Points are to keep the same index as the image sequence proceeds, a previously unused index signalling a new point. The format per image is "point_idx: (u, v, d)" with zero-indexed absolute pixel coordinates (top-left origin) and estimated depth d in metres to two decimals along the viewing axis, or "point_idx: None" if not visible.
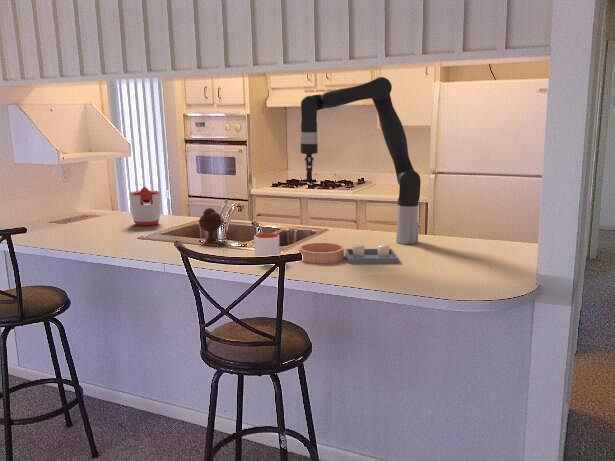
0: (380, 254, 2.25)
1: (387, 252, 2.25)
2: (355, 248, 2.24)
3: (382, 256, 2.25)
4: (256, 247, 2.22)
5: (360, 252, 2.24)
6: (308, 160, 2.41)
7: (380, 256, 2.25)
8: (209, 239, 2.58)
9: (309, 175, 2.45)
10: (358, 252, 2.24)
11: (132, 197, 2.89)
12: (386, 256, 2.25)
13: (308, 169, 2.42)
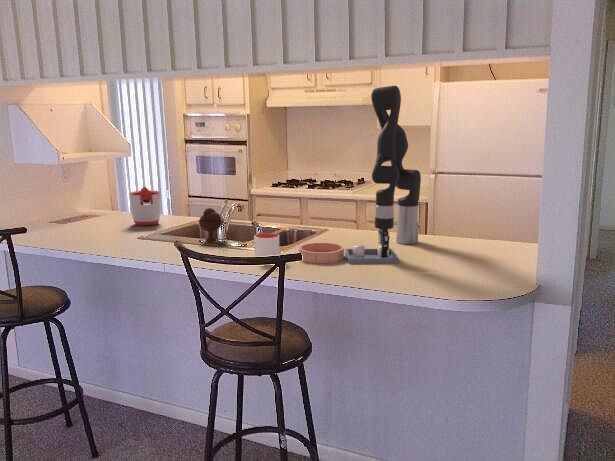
0: (380, 254, 2.25)
1: (387, 252, 2.25)
2: (355, 248, 2.24)
3: None
4: (256, 247, 2.22)
5: (360, 252, 2.24)
6: (384, 239, 2.19)
7: (380, 256, 2.25)
8: (209, 239, 2.58)
9: None
10: (358, 252, 2.24)
11: (132, 197, 2.89)
12: None
13: (384, 248, 2.21)
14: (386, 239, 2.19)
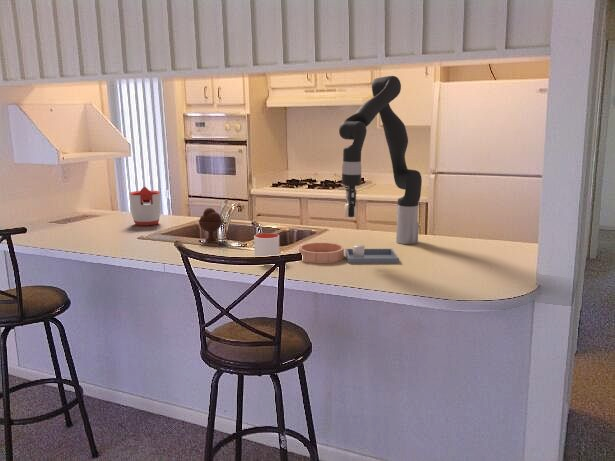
0: (347, 212, 2.22)
1: (354, 210, 2.22)
2: (355, 248, 2.24)
3: None
4: (256, 247, 2.22)
5: (360, 252, 2.24)
6: (351, 196, 2.16)
7: (347, 214, 2.22)
8: (209, 239, 2.58)
9: (351, 211, 2.21)
10: (358, 252, 2.24)
11: (132, 197, 2.89)
12: None
13: (351, 205, 2.18)
14: (353, 195, 2.16)
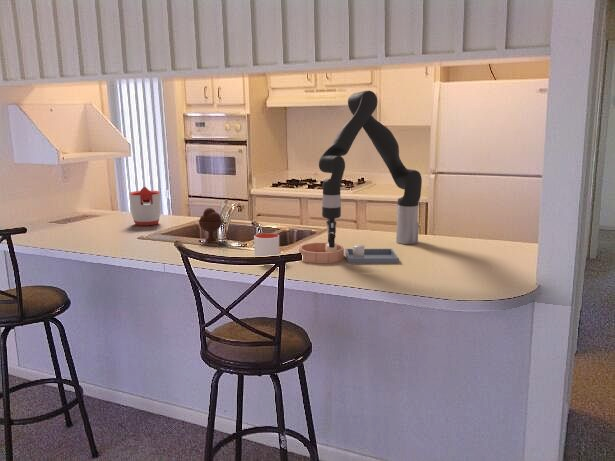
0: None
1: (334, 250, 2.26)
2: (355, 248, 2.24)
3: None
4: (256, 247, 2.22)
5: (360, 252, 2.24)
6: (331, 226, 2.19)
7: None
8: (209, 239, 2.58)
9: None
10: (358, 252, 2.24)
11: (132, 197, 2.89)
12: None
13: (331, 236, 2.20)
14: (332, 225, 2.19)
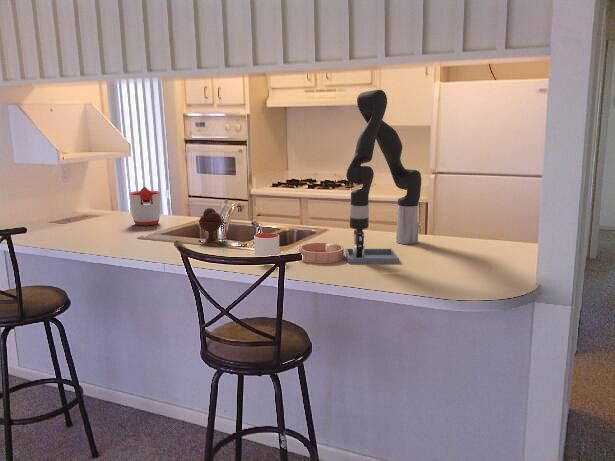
0: None
1: (334, 250, 2.26)
2: (355, 248, 2.24)
3: None
4: (256, 247, 2.22)
5: None
6: (359, 240, 2.19)
7: None
8: (209, 239, 2.58)
9: None
10: None
11: (132, 197, 2.89)
12: None
13: (359, 248, 2.21)
14: (360, 239, 2.19)
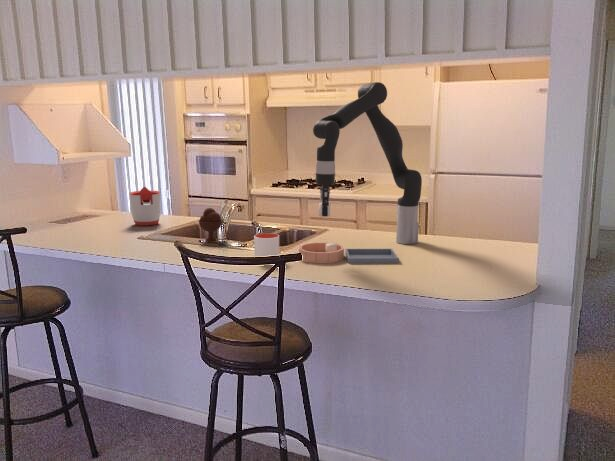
0: None
1: (334, 250, 2.26)
2: (321, 205, 2.21)
3: None
4: (256, 247, 2.22)
5: None
6: (324, 195, 2.16)
7: None
8: (209, 239, 2.58)
9: None
10: None
11: (132, 197, 2.89)
12: None
13: (324, 204, 2.18)
14: (326, 195, 2.16)
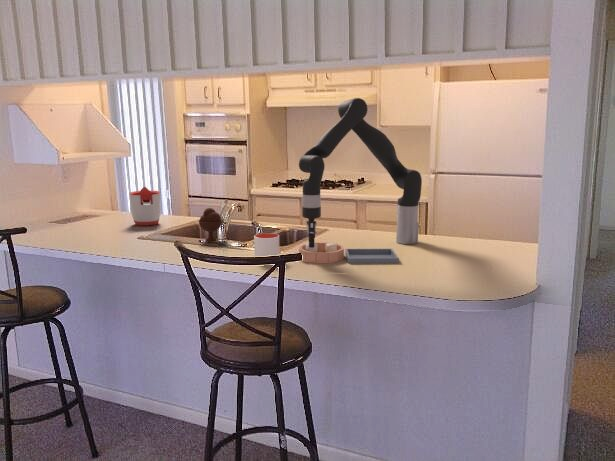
0: None
1: (334, 250, 2.26)
2: (308, 246, 2.26)
3: None
4: (256, 247, 2.22)
5: (312, 250, 2.26)
6: (310, 226, 2.19)
7: None
8: (209, 239, 2.58)
9: None
10: (310, 250, 2.26)
11: (132, 197, 2.89)
12: None
13: (310, 236, 2.20)
14: (312, 225, 2.19)
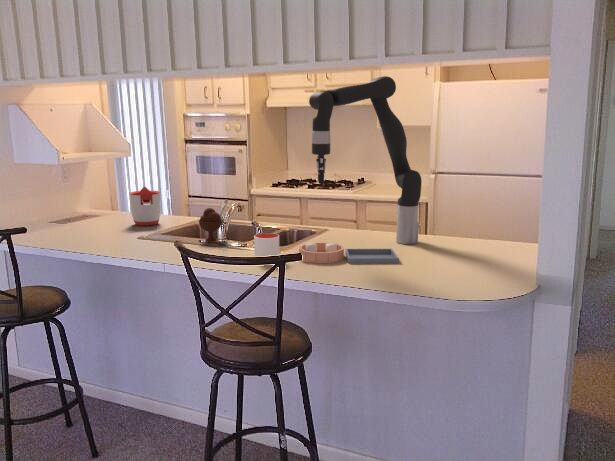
0: None
1: (334, 250, 2.26)
2: (308, 246, 2.26)
3: None
4: (256, 247, 2.22)
5: (312, 250, 2.26)
6: (320, 161, 2.22)
7: None
8: (209, 239, 2.58)
9: (321, 178, 2.25)
10: (310, 250, 2.26)
11: (132, 197, 2.89)
12: None
13: (320, 171, 2.22)
14: (321, 160, 2.22)
